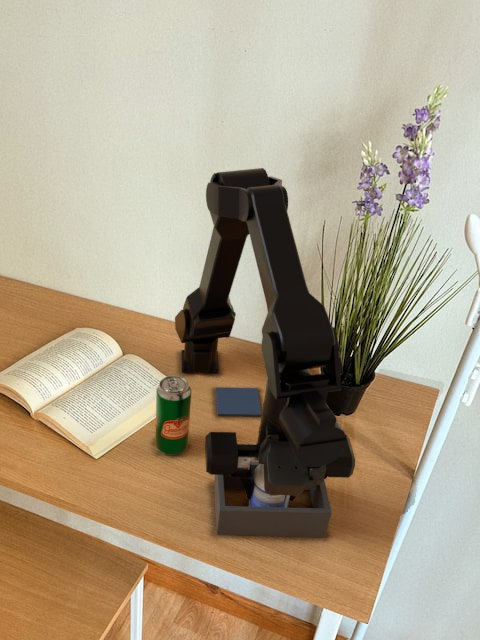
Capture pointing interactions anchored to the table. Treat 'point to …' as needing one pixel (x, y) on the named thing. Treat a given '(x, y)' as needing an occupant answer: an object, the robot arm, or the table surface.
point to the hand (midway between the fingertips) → (269, 497)
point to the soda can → (172, 415)
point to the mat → (238, 402)
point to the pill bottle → (260, 495)
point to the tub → (270, 514)
